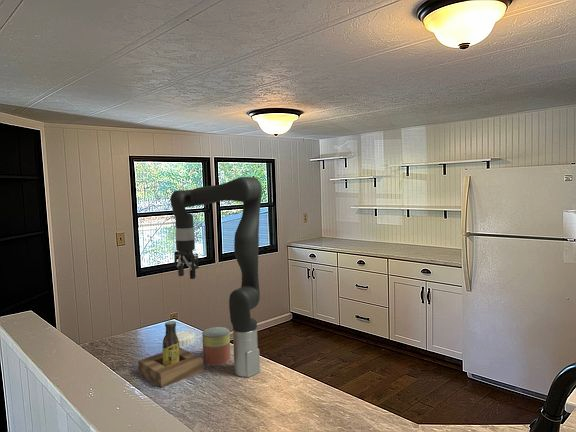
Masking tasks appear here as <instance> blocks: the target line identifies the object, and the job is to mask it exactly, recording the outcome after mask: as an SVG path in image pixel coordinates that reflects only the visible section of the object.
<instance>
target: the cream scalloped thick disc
mask: <svg viewBox="0 0 576 432" xmlns="http://www.w3.org/2000/svg"><path fill="white" fill-rule="evenodd" d="M176 335H177V338H178V341H179V347H180V348H182V347H186V346H190V345H192V344H194V343H195V342H196V333H194V332H192V331H187V330H184V331H182V330H181V331H176ZM194 341H195V342H194ZM189 344H190V345H189Z"/></svg>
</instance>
